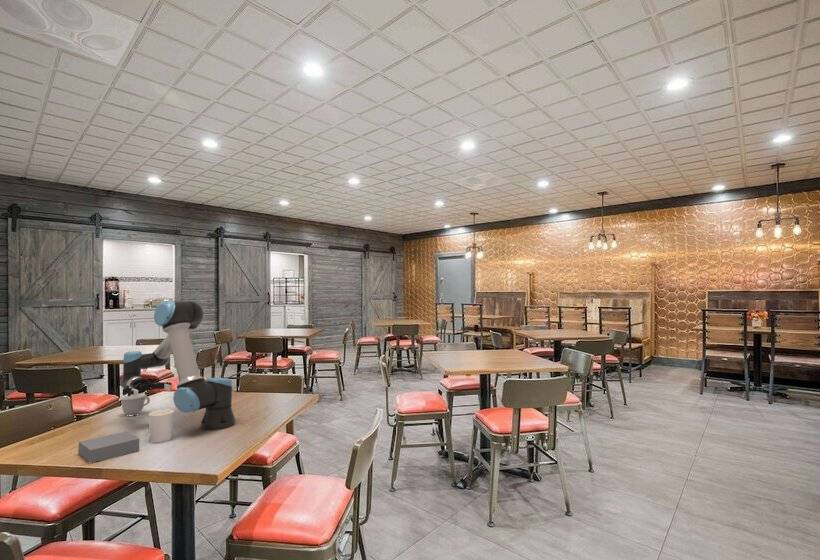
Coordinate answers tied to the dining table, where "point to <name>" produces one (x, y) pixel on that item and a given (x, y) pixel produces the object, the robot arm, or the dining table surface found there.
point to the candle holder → (161, 425)
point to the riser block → (108, 446)
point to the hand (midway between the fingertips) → (154, 390)
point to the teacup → (133, 404)
